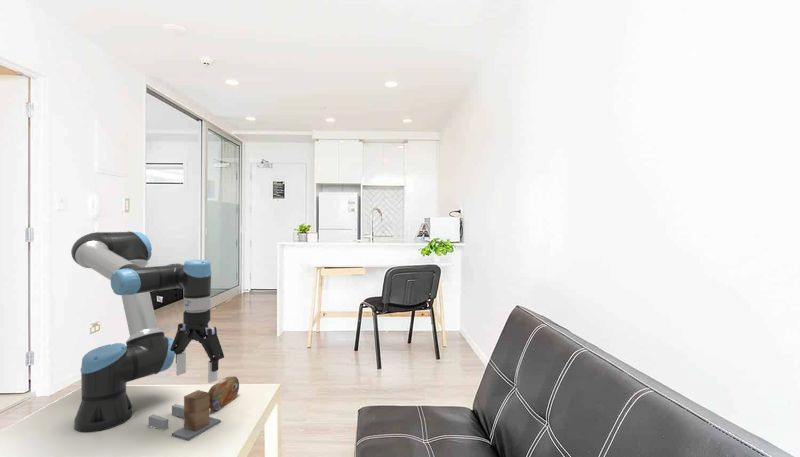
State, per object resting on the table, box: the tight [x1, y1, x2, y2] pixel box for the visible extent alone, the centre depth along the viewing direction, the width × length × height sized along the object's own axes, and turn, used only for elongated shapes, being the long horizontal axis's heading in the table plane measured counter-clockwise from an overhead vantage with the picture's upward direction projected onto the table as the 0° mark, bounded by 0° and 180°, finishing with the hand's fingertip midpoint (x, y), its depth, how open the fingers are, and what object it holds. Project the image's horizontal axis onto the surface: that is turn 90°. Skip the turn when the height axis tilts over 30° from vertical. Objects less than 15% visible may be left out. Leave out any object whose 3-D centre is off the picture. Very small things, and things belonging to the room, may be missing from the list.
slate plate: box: [171, 416, 222, 442], centre depth 124 cm, size 7×12×1 cm, turn 157°
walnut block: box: [183, 389, 210, 432], centre depth 124 cm, size 5×5×10 cm
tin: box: [207, 376, 240, 411], centre depth 141 cm, size 15×3×8 cm, turn 168°
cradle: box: [148, 403, 184, 431], centre depth 128 cm, size 7×10×3 cm
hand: (196, 377), depth 124 cm, fingers open, 13 cm apart
